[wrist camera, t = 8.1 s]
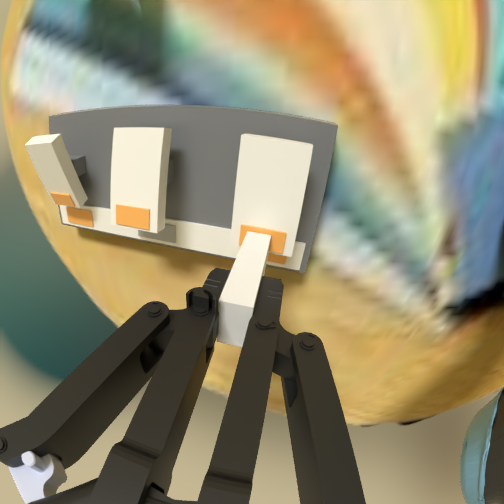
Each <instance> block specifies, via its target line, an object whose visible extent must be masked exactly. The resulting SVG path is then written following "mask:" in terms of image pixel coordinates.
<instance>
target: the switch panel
mask: <svg viewBox="0 0 504 504" xmlns="http://www.w3.org/2000/svg"><path fill="white" fill-rule="evenodd" d="M123 127H156V128H172V134H171V143H170V153H169V164H168V176H167V191H166V208H165V228H164V229H163V230H161V231H160V232H158V233H153V232H148V231H142V230H137V229H132V228H127V227H121V226H116V225H111V208H110V192H111V161H112V145H113V133H114V128H123ZM337 128H338V125H337V124H335V123H332V122H328V121H323V120H318V119H313V118H307V117H302V116H296V115H290V114H284V113H277V112H270V111H262V110H254V109H245V108H234V107H221V106H204V105H136V106H119V107H107V108H97V109H88V110H80V111H73V112H67V113H61V114H57V115H53V116H49V131H50V135H52V134H61V136H62V138H63V141H64V144H65V146H66V149H67V151H68V154H69V157H70V159H71V161H72V164H73V166H74V169H75V171H76V173H77V176H78V178H79V180H80V183H81V185H82V187H83V189H84V191H85V194H86V196H87V198H88V199H87V200H86V202H85V203H84V204H83V206H82V207H81V208H77V207H71V206H65V205H58V207H59V212H60V217H61V222H62V224H64V225H68V226H73V227H78V228H82V229H87V230H92V231H96V232H101V233H106V234H110V235H115V236H120V237H125V238H129V239H134V240H139V241H144V242H149V243H154V244H158V245H163V246H168V247H173V248H178V249H183V250H188V251H193V252H198V253H203V254H208V255H213V256H218V257H223V258H228V259H233V260H236V257H237V255H238V253H239V250H240V248H241V247H236V246H231V245H230V237H231V226H232V216H233V206H234V196H235V186H236V177H237V168H238V159H239V150H240V141H241V135H242V134H245V133H246V134H254V135H261V136H268V137H275V138H281V139H287V140H293V141H299V142H304V143H310V144H313V150H312V156H311V161H310V167H309V173H308V178H307V183H306V189H305V194H304V199H303V204H302V209H301V214H300V219H299V224H298V229H297V234H296V239H295V243H294V248H293V253H292V257H289V256H283V255H278V254H273V253H268V257H267V263H266V266H269V267H274V268H280V269H285V270H290V271H295V272H301V273H305V270H306V266H307V263H308V259H309V255H310V251H311V247H312V243H313V239H314V235H315V231H316V227H317V223H318V218H319V214H320V210H321V206H322V201H323V197H324V192H325V188H326V183H327V178H328V174H329V169H330V164H331V159H332V154H333V149H334V144H335V139H336V133H337Z"/></svg>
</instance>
